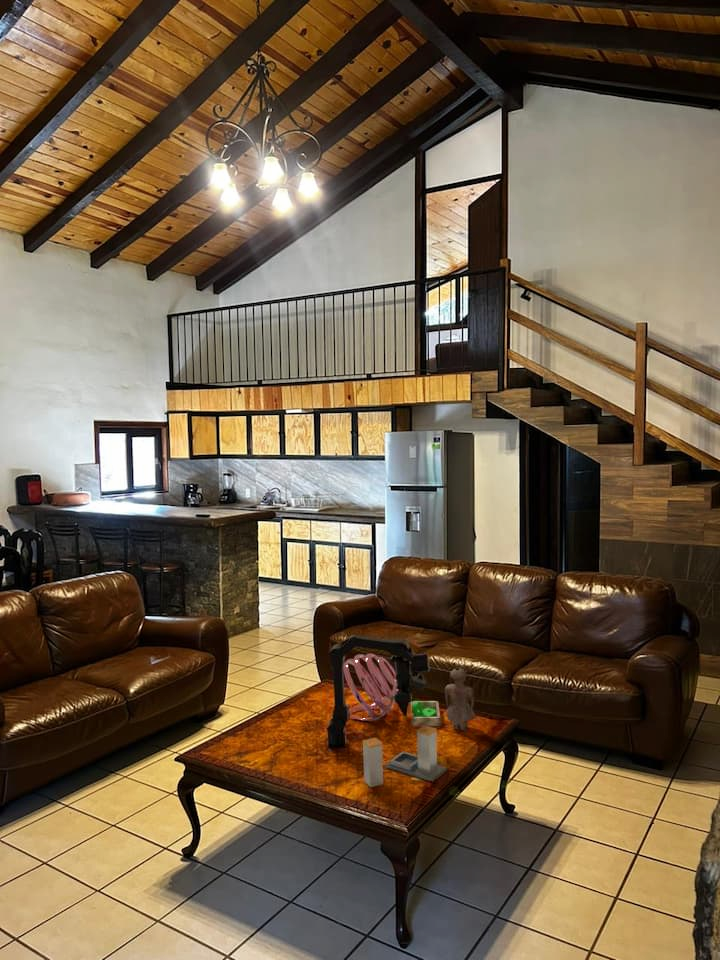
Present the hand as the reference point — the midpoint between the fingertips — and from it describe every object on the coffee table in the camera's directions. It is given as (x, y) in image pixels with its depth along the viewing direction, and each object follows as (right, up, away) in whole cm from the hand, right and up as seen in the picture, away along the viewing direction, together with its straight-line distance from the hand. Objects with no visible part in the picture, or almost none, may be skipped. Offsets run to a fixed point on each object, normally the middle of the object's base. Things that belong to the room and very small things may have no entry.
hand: (406, 711), depth 274 cm
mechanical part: (+10, -13, +29) cm, 33 cm away
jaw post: (-13, -17, -26) cm, 34 cm away
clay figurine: (+23, -13, +17) cm, 31 cm away
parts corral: (+10, -12, +29) cm, 33 cm away
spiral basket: (-13, -13, +32) cm, 37 cm away
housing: (+2, -16, -17) cm, 23 cm away
